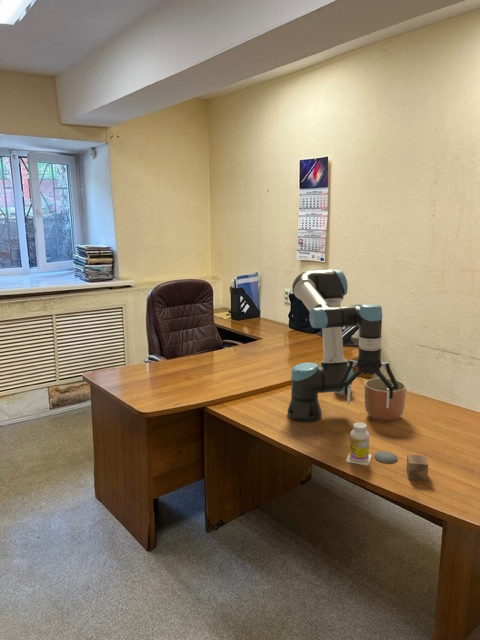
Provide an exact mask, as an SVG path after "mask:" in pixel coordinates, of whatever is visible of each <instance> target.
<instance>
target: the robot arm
mask: <svg viewBox="0 0 480 640" xmlns="http://www.w3.org/2000/svg"><path fill="white" fill-rule="evenodd" d="M348 286H349V284H348V281H347V277H346V274H345V273H344V272H343V271H342V270H340V269H324V270H320V269H319V270H307V271H304V272H301V273H300V274H298V275H297V276H296V277H295V278H294V280H293V283H292V286H291V288H292V293H293V295H294V296H295V297H296V298H297V300H300V301H302V303H303V305H304V306H305V307H306V309H307V310H308V311H309V323H310V326H311V327H312V328H313V329H321V331H322V348H323V359H321V361H320V366H319V365H318V364H317V363H316V362H308V361H307V362H302V363H299V364H296V365H295V366H293V367H292V369H291V374H290V381H291V386H290V387H291V390H290V394H291V399H290V401H289V404H288V407H287V417H288V419H290V420H292V421H295V422H298V423H312V422H317V421H319V420H320V419H321V418H322V416H323V414H322V408H321V405H320V401H319V394H323V393H335V392H341V391H344V394H345V395H344V396H347V398H346V399H347V400H346V401H347V402H346V405H350V403H351V393H350V387H351V388H352V385H353V382H354V381H355V380H356V379H357V377H359V375H361V374H362V373H363V374H364V375H376V376H377V377H378V378H380V379H381V380H382V381H383V382H384V384H385V385H386V386H387V387H388V388H387V408H389V399H392V398H393V390H394V389H398V383H397V381H396V380H397V379H396V377H395V375H394V373H393V371H392V369H391V367H390V361H386V362H381V356H382V354H381V348H382V328H383V327H382V324H383V308H382V306H381V305H380V304H375V303H365V304H364V303H363V304H361V303H360V304H358V303H353V304H351V305H347V306H341V303H342V302H343V300H344V297H345V296H346V295H347V294H348ZM346 327H347V328H348V327H358V329H359V330H358V347H359V348H358V357H357V358H358V360H353V359H352V358H351V359H349V362H348V360H347V358H345V357H344V342H343V328H346ZM356 365H357V367H358V369H357V370H356V371H355V372H354V371H353V367H356ZM382 367H383V368H384V370H386V373H387V376H388V377H389V379H391V381H392V383H393V385H392V384H391V383H390V382H389V381H388V380H387V379H388V378H386V376H385V375H384V374H383V373H382V371H381V368H382Z"/></svg>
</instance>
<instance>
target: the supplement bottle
mask: <svg viewBox="0 0 480 640" xmlns="http://www.w3.org/2000/svg"><path fill="white" fill-rule="evenodd" d="M352 428H353V429H352V430H351V431H350V435H349V440H350V441H349V452H350V457H351V459H353V460H355V461H360V462H361V461H366V460H367V459H368V455H369V454H370V451H369V450H370V447H369V446H370V433H369V431H368V430H367V429H368V428H367V424H366V423H365V422H361V421H360V422H355V423H353V426H352Z"/></svg>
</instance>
